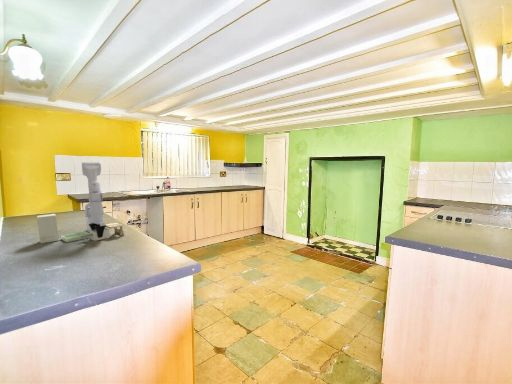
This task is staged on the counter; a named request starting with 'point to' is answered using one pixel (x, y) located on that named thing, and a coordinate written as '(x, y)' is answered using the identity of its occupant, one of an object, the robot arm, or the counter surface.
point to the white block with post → (94, 235)
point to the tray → (74, 236)
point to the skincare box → (47, 228)
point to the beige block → (117, 230)
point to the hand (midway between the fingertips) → (98, 236)
